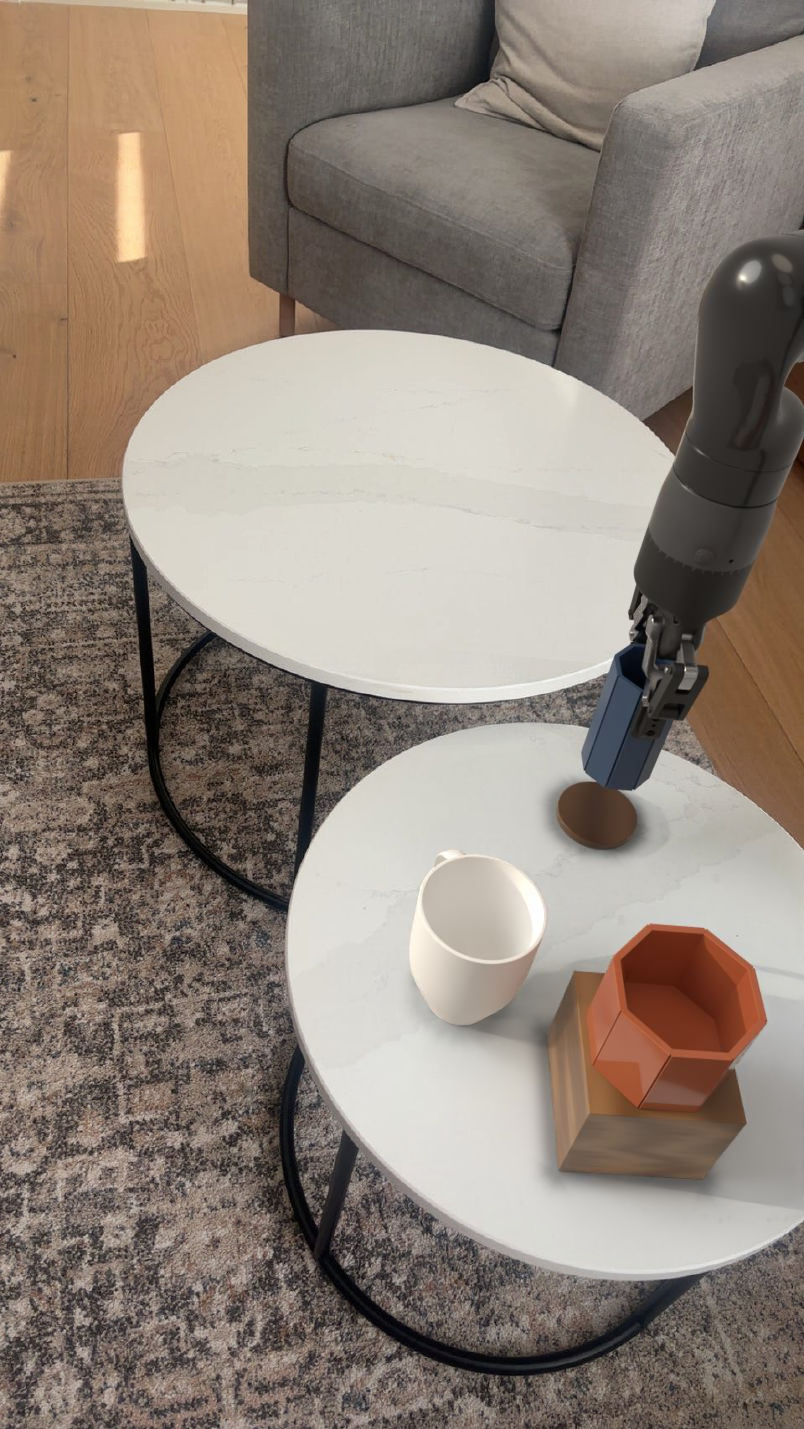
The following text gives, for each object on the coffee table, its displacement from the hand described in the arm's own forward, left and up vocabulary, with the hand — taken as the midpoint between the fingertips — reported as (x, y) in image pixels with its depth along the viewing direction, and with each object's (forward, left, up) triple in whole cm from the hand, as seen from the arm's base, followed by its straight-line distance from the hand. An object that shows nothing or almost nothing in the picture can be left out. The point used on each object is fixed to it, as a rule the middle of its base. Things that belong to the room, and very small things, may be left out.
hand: (638, 706), depth 85 cm
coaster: (0, 0, -14) cm, 14 cm away
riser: (+1, +26, -14) cm, 30 cm away
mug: (+13, +17, -14) cm, 26 cm away
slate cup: (0, 0, -7) cm, 7 cm away
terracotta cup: (+1, +26, -5) cm, 26 cm away
